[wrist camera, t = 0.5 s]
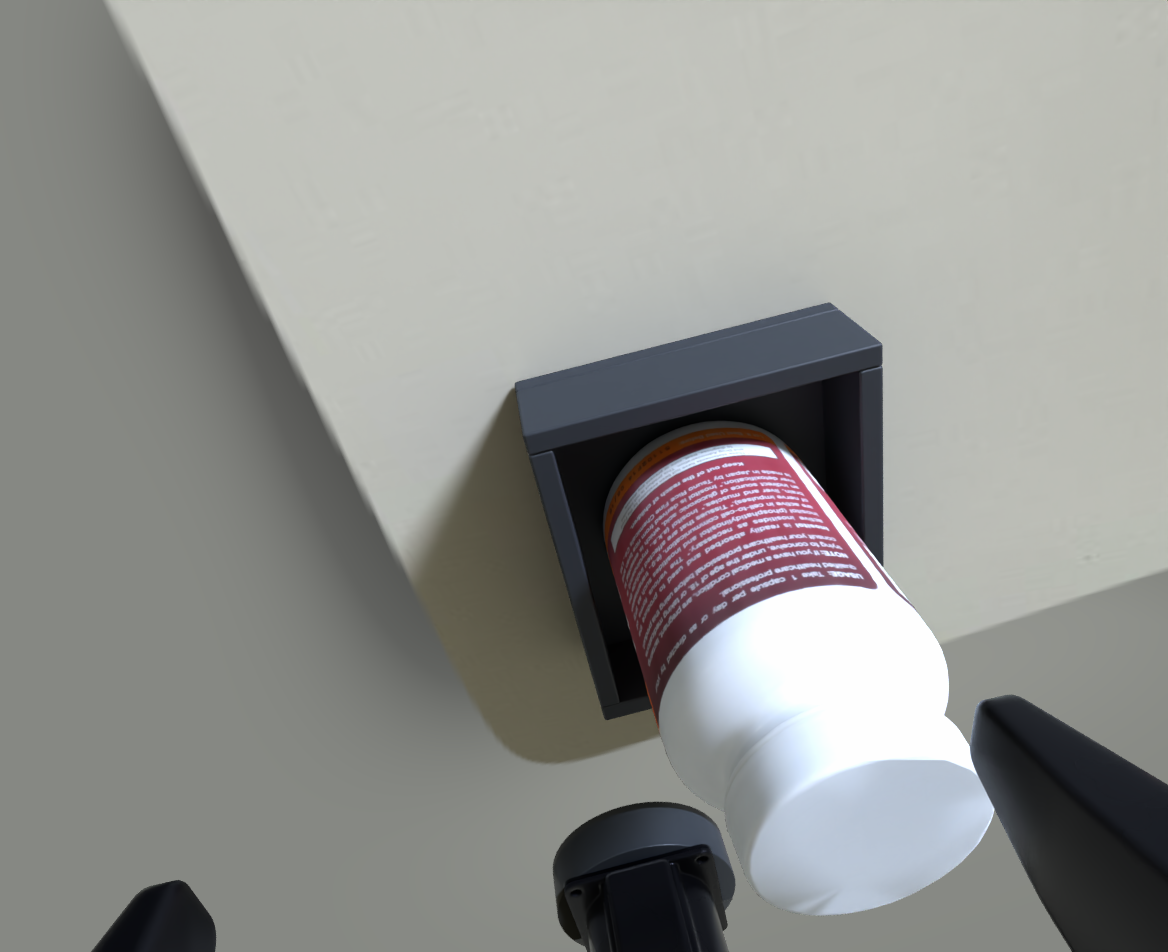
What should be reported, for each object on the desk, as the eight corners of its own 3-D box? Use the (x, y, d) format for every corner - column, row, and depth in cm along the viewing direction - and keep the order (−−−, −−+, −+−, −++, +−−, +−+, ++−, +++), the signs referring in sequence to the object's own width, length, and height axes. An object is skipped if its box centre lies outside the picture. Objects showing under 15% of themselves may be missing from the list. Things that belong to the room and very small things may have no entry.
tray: (842, 585, 27) (884, 648, 24) (589, 650, 26) (605, 721, 24) (830, 300, 21) (883, 343, 19) (513, 381, 21) (522, 435, 18)
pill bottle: (561, 551, 23) (633, 915, 14) (668, 377, 21) (840, 678, 12) (729, 611, 26) (888, 959, 16) (843, 460, 23) (1108, 767, 14)
